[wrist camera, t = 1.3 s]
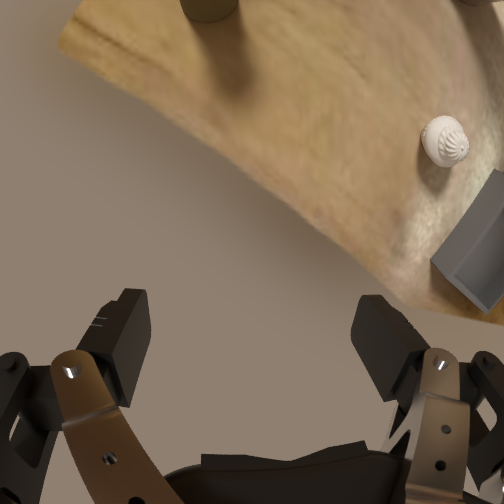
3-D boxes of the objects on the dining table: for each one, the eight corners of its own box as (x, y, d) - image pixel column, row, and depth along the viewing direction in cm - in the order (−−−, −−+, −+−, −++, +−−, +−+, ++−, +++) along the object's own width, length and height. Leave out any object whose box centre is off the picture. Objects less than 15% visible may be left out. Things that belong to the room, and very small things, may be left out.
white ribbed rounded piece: (443, 164, 30) (475, 181, 24) (406, 154, 29) (438, 169, 23) (451, 120, 26) (486, 130, 20) (415, 106, 26) (448, 112, 20)
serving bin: (494, 168, 29) (515, 179, 25) (526, 227, 33) (542, 240, 29) (430, 259, 37) (446, 278, 33) (474, 298, 41) (486, 315, 37)
